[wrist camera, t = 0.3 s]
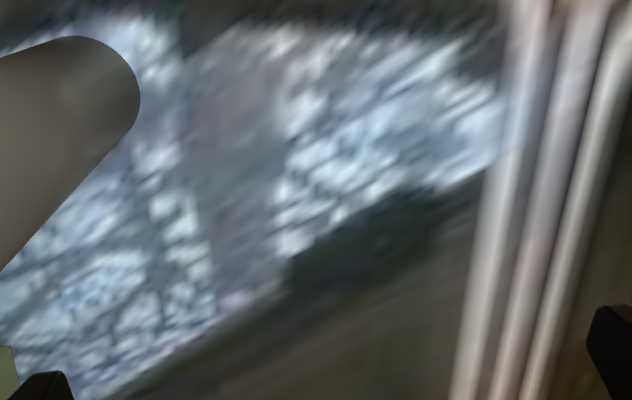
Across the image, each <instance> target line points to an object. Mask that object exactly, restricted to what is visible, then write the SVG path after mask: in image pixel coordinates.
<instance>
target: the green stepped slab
mask: <svg viewBox="0 0 632 400" xmlns="http://www.w3.org/2000/svg"><path fill="white" fill-rule="evenodd" d="M19 387H20V386H19V381H18V377H17V372H16V368H15V363H14V359H13V354H12V350H11V346H0V400H7V399H8V398H9V397H10V396H11V395H12V394H13V393H14V392H15V391H16V390H17V389H18V388H19Z"/></svg>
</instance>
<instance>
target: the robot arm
mask: <svg viewBox="0 0 632 400" xmlns="http://www.w3.org/2000/svg"><path fill="white" fill-rule="evenodd" d="M586 346H587V350H588V353H589V355H590V357H591V359H592V361H593V363H594V365H595V367H596V369H597V371H598V373H599V375H600V377H601V379H602V381H603V383H604V385H605V387H606V389H607V391H608V392H609V394H610V396H611V398H612V400H632V307H631V306H629V305H627V304H624V303H614V304H605V305H601V306H599V307H598V308H597V309H596V311H595V314H594V317H593V320H592V323H591V326H590V329H589V331H588V334H587V338H586ZM7 400H74V398H73V395H72V392H71V390H70V387H69V384H68V381H67V379H66V376H65V374H64V373H63V372H62V371H58V370H56V371H48V372H40V373H35V374H33V375H32V376H30V377H29V378H28V379H27V380H26V381H25V382H24V383H23V384H22V385H21V386H20V387H19V388H18V389H17V390H16V391H15V392H14V393H13V394H12V395H11V396H10V397H9V398H8V399H7Z"/></svg>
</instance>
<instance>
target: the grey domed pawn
mask: <svg viewBox="0 0 632 400" xmlns="http://www.w3.org/2000/svg"><path fill="white" fill-rule="evenodd" d="M139 108H140V90H139V86H138V82H137V80H136V77H135V75H134V73H133V71H132V69H131V68H130V66H129V65H128V63H127V62H126V61H125V60H124V59H123V58H122V57H121V55H119V54H118V53H117V52H116V51H115V50H113V49H112V48H111V47H109V46H108V45H106V44H104V43H102V42H100V41H97V40H95V39H92V38H88V37H83V36H65V37H60V38H57V39H54V40H51V41H48V42H45V43H42V44H39V45H36V46H33V47H30V48H27V49H24V50H22V51H19V52H16V53H13V54H10V55H7V56H4V57H1V58H0V272H1V271H2V269H3V268H4V267H5V266H6V265H7V264H8V263H9V262H10V261H11V259H12V258H13V257H14V256H15V255H16V254H17V253H18V252H19V251H20V250H21V248H22V247H23V246H24V245H25V244H26V243H27V242H28V241H29V240H30V238H31V237H32V236H33V235H34V234H35V233H36V232H37V231H38V230H39V229H40V227H41V226H42V225H43V224H44V223H45V222H46V221H47V220H48V219H49V218H50V216H51V215H52V214H53V213H54V212H55V211H56V210H57V209H58V208H59V206H60V205H61V204H62V203H63V202H64V201H65V200H66V199H67V198H68V197H69V195H70V194H71V193H72V192H73V191H74V190H75V189H76V188H77V187H78V186H79V184H80V183H81V182H82V181H83V180H84V179H85V178H86V177H87V176H88V174H89V173H90V172H91V171H92V170H93V169H94V168H95V167H96V166H97V165H98V163H99V162H100V161H101V160H102V159H103V158H104V157H105V156H106V155H107V153H108V152H109V151H110V150H111V149H112V148H113V147H114V146H115V145H116V144H117V142H118V141H119V140H120V139H121V138H122V137H123V136H124V135H125V134H126V133H127V131H128V130H129V129H130V128H131V127H132V125H133V124H134V122H135V120H136V118H137V116H138V112H139Z"/></svg>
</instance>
